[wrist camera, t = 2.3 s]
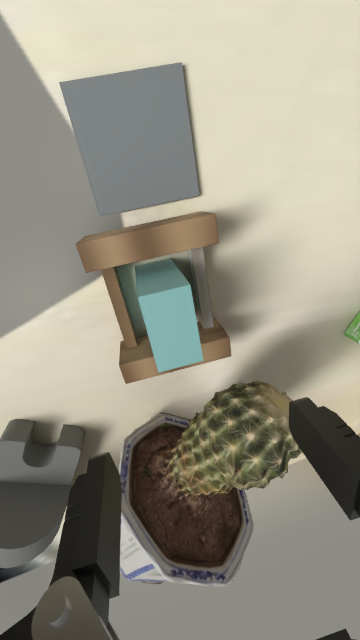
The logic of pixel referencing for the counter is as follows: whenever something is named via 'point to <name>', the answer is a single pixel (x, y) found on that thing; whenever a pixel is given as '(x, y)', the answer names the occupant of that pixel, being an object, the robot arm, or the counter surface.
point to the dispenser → (147, 244)
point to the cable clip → (33, 489)
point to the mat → (134, 137)
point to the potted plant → (200, 485)
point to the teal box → (168, 314)
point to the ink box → (354, 329)
